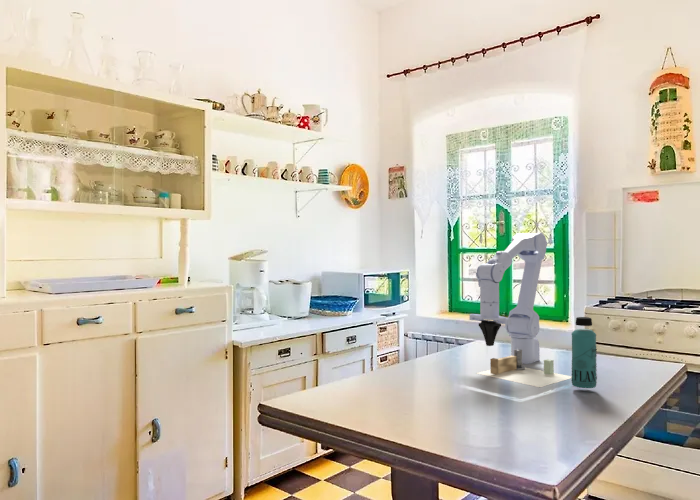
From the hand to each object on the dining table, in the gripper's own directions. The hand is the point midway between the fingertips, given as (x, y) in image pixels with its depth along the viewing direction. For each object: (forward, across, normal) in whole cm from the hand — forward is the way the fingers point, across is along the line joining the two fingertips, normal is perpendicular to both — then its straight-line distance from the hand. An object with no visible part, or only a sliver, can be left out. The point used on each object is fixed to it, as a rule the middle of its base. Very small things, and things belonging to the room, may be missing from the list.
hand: (490, 345), depth 172 cm
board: (+8, +11, +2) cm, 14 cm away
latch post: (+8, +14, +9) cm, 19 cm away
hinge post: (+8, +5, +8) cm, 12 cm away
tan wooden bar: (+7, +5, 0) cm, 9 cm away
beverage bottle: (+9, +30, +2) cm, 31 cm away
